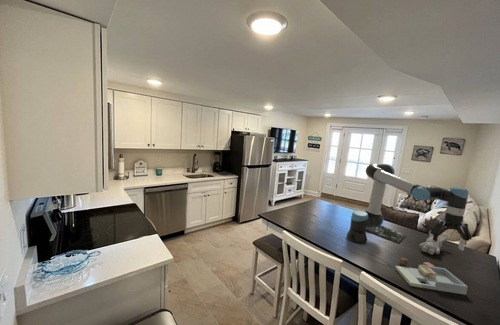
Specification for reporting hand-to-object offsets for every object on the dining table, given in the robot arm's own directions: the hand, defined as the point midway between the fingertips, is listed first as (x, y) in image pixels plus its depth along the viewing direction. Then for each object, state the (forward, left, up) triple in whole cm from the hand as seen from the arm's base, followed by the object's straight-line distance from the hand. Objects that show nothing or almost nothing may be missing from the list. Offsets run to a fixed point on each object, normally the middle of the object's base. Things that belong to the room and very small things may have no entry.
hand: (447, 247), depth 121 cm
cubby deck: (-11, -3, -21) cm, 24 cm away
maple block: (-9, 0, -19) cm, 21 cm away
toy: (+21, +41, -21) cm, 51 cm away
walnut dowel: (-17, +9, -21) cm, 28 cm away
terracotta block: (-2, +9, -21) cm, 23 cm away
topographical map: (-6, +64, -22) cm, 68 cm away
